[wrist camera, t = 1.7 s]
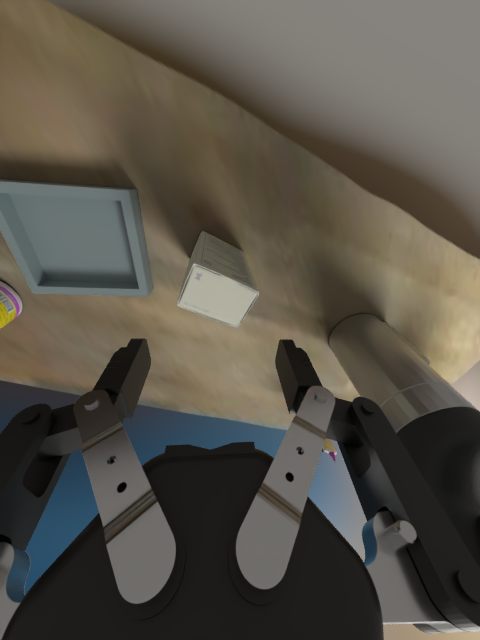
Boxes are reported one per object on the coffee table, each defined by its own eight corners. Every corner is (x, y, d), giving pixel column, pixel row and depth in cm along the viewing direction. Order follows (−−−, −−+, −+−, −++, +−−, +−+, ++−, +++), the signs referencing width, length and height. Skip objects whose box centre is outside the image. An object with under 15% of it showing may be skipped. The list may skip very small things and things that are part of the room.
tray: (136, 188, 24) (128, 190, 22) (153, 288, 31) (148, 296, 29) (-4, 178, 23) (-26, 179, 21) (45, 284, 29) (32, 293, 27)
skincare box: (189, 259, 29) (172, 306, 19) (202, 228, 27) (191, 260, 17) (231, 279, 31) (236, 330, 21) (246, 251, 29) (261, 293, 19)
